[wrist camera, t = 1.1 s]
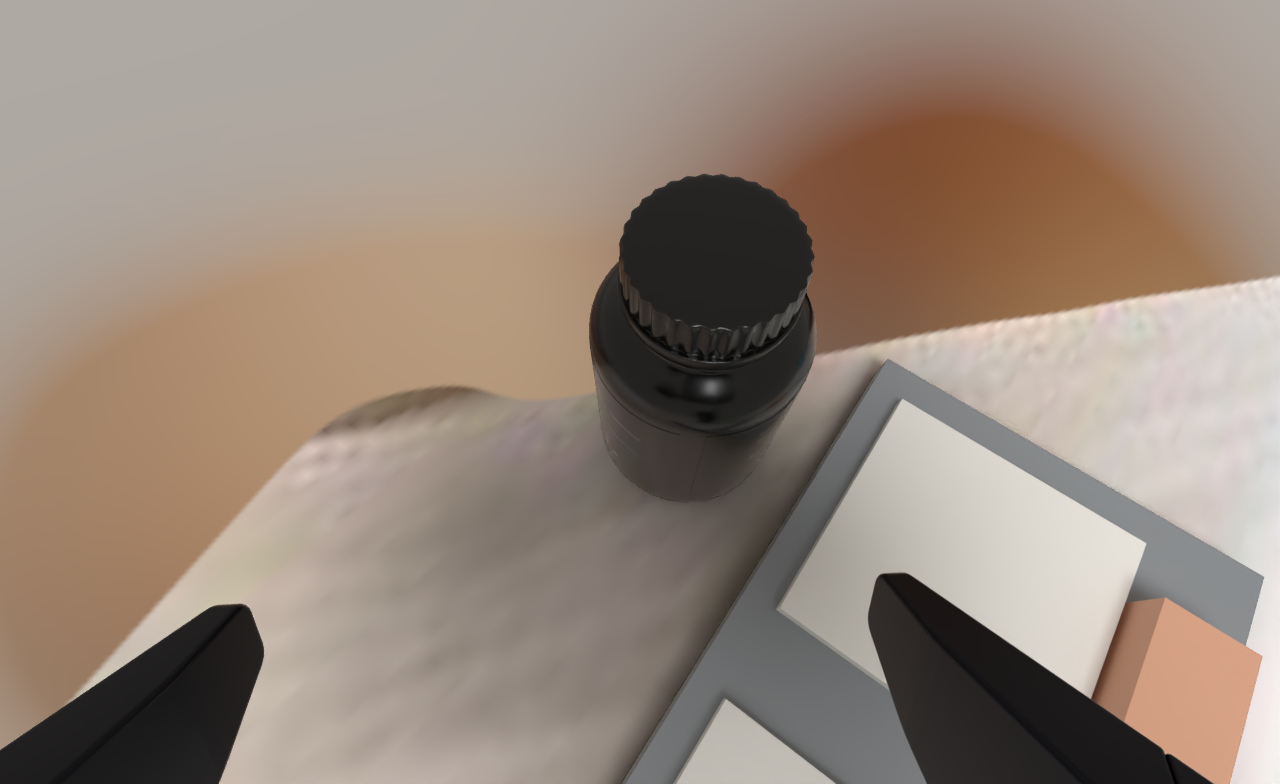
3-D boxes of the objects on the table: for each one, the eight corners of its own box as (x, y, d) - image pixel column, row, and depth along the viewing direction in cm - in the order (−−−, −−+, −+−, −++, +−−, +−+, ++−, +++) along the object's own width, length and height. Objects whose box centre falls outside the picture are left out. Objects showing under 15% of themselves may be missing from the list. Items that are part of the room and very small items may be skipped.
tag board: (1227, 582, 23) (1321, 568, 20) (952, 1514, 14) (1045, 1756, 11) (874, 374, 27) (908, 334, 24) (473, 1021, 18) (440, 1098, 15)
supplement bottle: (716, 332, 28) (774, 111, 17) (793, 464, 25) (922, 306, 14) (575, 389, 26) (538, 190, 15) (642, 534, 24) (654, 420, 13)
